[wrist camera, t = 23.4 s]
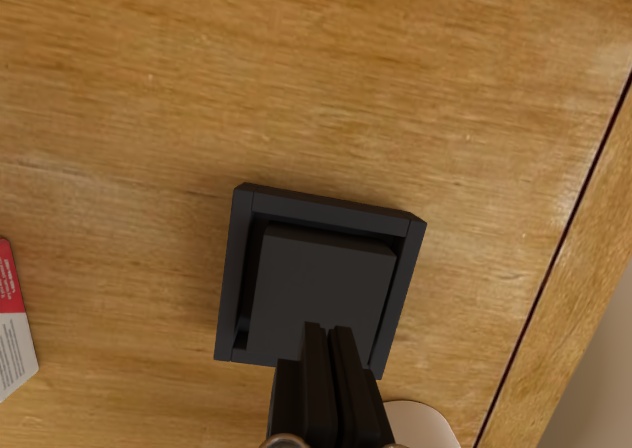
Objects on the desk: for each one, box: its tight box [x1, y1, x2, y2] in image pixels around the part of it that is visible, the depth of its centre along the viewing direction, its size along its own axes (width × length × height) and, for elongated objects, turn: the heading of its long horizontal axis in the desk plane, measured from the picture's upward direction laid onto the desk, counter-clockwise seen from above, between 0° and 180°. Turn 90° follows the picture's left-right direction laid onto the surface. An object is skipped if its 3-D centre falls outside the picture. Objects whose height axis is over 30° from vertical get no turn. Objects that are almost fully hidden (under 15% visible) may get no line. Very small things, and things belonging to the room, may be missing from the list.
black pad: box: [246, 220, 397, 367], centre depth 15 cm, size 6×6×3 cm
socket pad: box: [214, 182, 427, 380], centre depth 16 cm, size 9×9×2 cm
